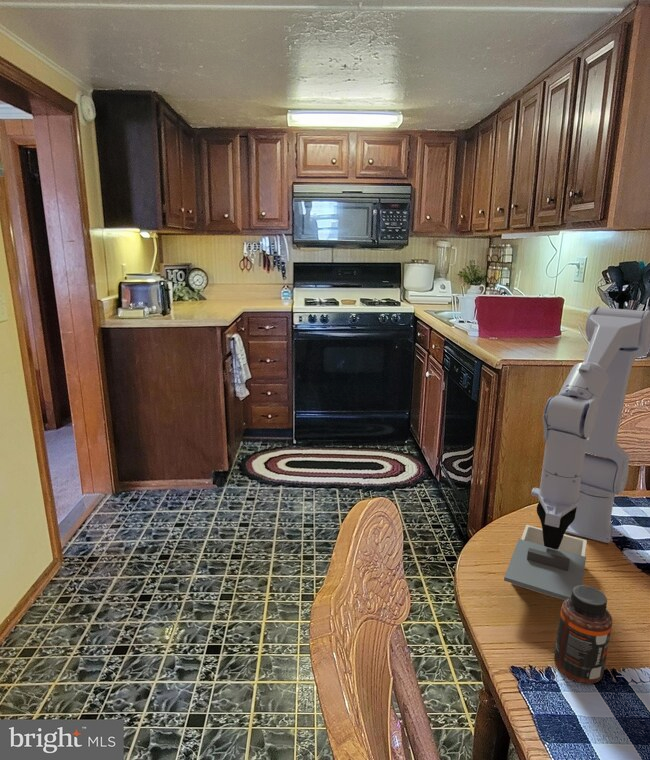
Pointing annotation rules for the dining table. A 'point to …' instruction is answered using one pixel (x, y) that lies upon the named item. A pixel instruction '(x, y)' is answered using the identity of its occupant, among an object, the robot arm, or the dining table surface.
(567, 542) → the box
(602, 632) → the supplement bottle
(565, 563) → the lid
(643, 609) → the dining table surface
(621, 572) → the dining table surface
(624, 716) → the dining table surface
